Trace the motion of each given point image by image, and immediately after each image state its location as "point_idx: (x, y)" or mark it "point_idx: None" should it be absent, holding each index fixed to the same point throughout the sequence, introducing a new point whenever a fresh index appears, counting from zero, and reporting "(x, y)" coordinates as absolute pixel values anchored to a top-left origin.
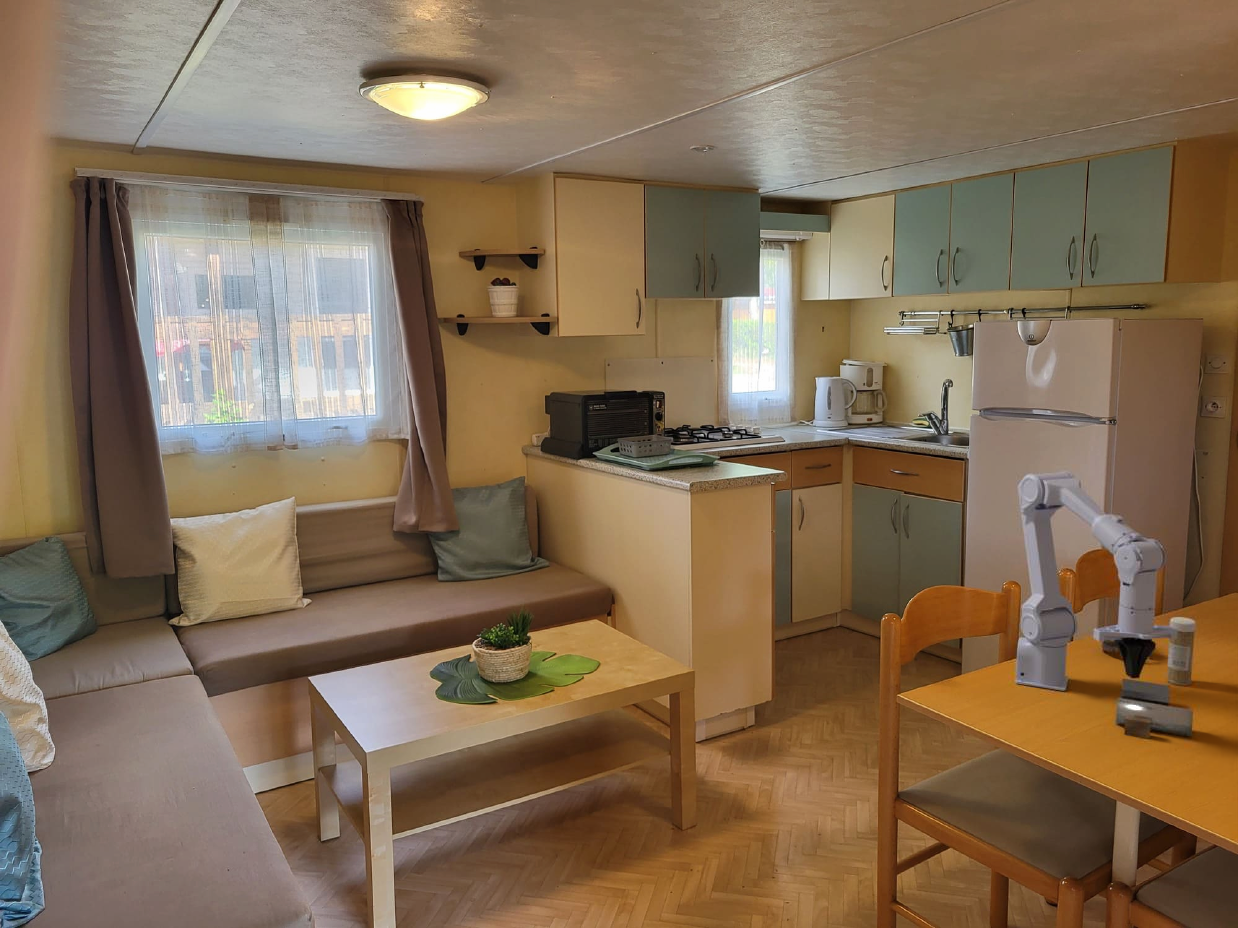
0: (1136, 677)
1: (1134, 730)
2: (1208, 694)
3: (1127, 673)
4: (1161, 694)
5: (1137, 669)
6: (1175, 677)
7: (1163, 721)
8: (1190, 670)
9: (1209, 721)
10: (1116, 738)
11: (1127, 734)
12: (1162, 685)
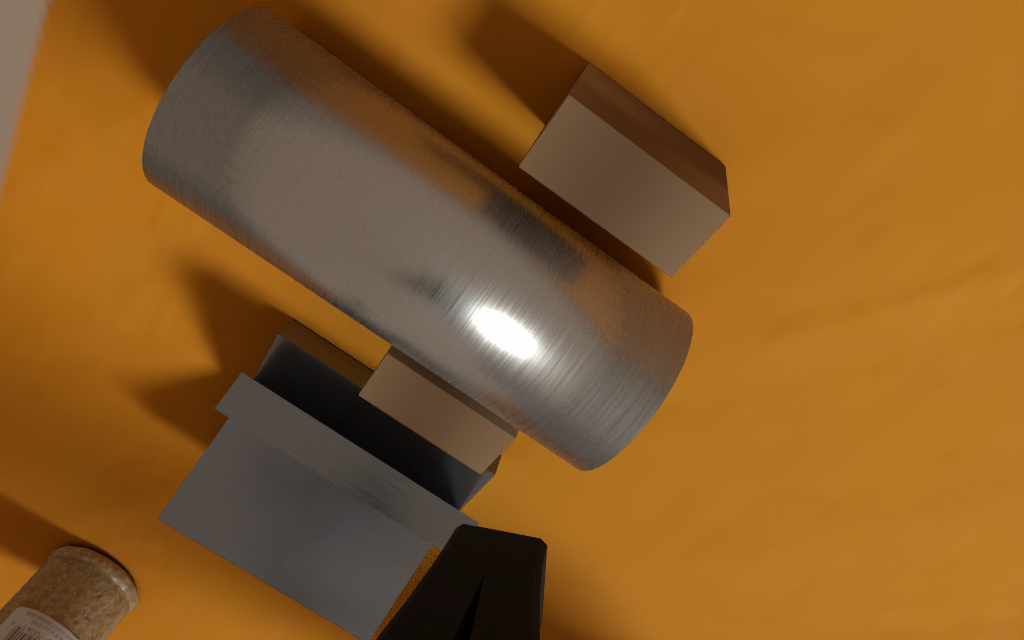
0: (492, 534)
1: (671, 139)
2: (14, 465)
3: (540, 620)
4: (232, 478)
5: (461, 623)
6: (96, 592)
7: (419, 140)
8: (9, 604)
9: (91, 228)
10: (845, 110)
11: (707, 153)
12: (192, 530)
